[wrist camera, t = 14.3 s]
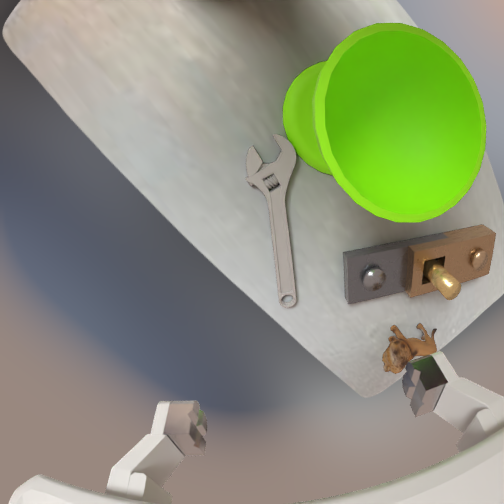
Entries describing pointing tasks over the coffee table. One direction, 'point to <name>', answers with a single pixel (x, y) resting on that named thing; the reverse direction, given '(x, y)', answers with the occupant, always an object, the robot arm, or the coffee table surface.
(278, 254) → the adjustable wrench
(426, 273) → the brass pin
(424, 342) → the lion figurine
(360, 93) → the wineglass
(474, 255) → the door latch
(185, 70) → the coffee table surface
